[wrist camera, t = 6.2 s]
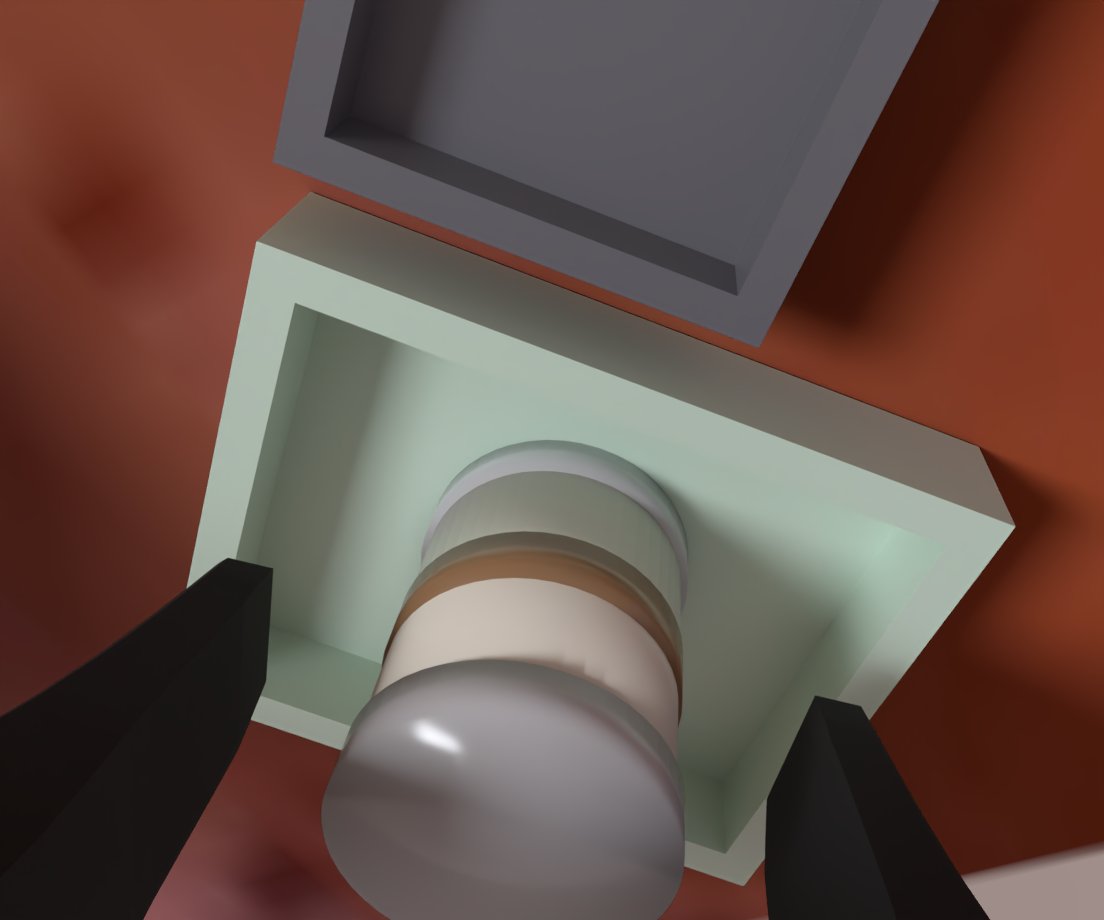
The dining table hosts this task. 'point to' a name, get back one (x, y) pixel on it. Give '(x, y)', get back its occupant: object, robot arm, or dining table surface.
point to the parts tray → (593, 419)
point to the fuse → (526, 704)
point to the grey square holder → (606, 131)
